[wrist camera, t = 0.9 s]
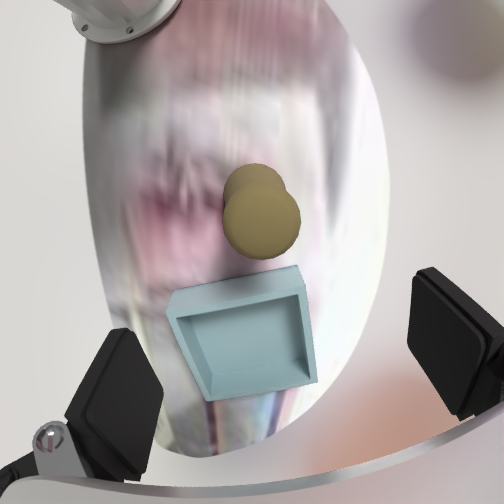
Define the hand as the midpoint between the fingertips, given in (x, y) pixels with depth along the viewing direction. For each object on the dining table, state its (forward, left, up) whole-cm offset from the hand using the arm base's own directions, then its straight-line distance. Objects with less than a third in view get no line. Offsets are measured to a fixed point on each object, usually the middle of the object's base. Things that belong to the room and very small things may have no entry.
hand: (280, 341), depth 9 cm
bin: (+15, -4, -21) cm, 26 cm away
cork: (0, 0, -21) cm, 21 cm away
